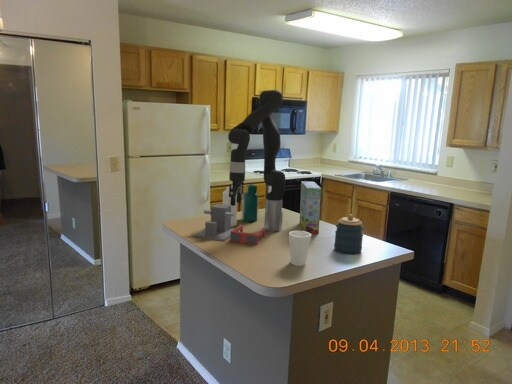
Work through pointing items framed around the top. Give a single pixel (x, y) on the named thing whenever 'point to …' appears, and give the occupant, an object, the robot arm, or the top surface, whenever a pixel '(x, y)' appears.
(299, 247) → the foam cup
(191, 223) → the top surface
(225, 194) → the milk
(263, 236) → the red c-shaped frame
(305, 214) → the snack box
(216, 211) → the stand
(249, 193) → the teal bottle
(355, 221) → the lidded canister
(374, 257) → the top surface
